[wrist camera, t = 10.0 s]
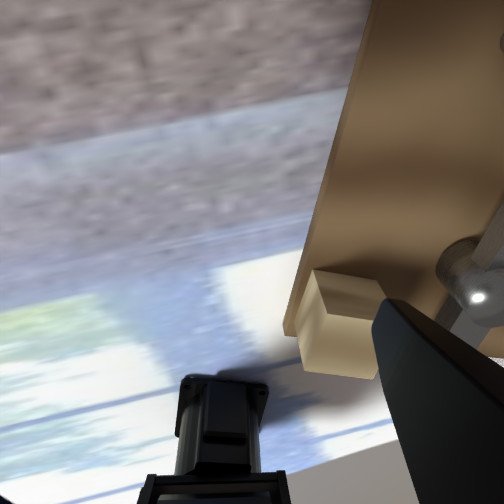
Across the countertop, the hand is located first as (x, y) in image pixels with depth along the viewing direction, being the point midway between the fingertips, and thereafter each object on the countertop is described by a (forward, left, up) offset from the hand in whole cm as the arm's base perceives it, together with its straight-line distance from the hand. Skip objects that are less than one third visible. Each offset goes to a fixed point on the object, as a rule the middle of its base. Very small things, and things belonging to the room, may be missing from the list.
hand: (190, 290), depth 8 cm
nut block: (-8, -8, -11) cm, 16 cm away
